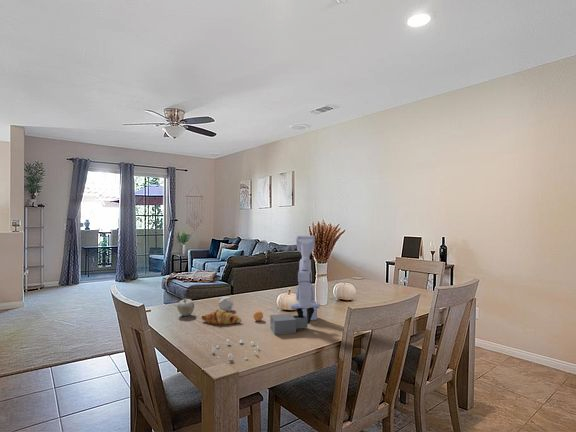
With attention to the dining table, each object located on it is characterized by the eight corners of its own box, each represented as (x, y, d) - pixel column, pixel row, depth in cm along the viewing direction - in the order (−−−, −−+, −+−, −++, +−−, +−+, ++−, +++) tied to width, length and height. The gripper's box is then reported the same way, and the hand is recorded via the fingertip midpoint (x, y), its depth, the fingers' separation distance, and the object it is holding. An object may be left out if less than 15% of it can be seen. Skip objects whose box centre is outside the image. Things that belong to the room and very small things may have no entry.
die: (226, 314, 193) (236, 299, 196) (213, 306, 195) (223, 291, 198) (228, 316, 201) (237, 301, 204) (216, 308, 202) (225, 293, 205)
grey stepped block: (302, 325, 173) (302, 312, 173) (308, 332, 163) (308, 318, 163) (270, 327, 169) (270, 314, 169) (274, 334, 159) (274, 321, 159)
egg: (262, 318, 184) (262, 309, 184) (263, 321, 179) (263, 312, 179) (252, 319, 182) (252, 310, 182) (254, 322, 178) (254, 312, 178)
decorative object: (192, 312, 195) (192, 295, 195) (195, 316, 187) (195, 298, 187) (176, 314, 191) (176, 296, 191) (178, 319, 183) (178, 300, 183)
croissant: (242, 328, 179) (244, 312, 183) (238, 324, 170) (240, 308, 174) (203, 326, 182) (206, 310, 185) (196, 322, 173) (199, 306, 176)
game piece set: (245, 366, 127) (245, 355, 127) (200, 357, 135) (200, 347, 135) (269, 347, 145) (269, 338, 145) (228, 340, 153) (228, 332, 153)
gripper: (292, 298, 162) (292, 327, 162) (321, 296, 166) (321, 325, 166) (288, 294, 169) (288, 322, 169) (317, 293, 173) (317, 320, 173)
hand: (304, 323), depth 168 cm, fingers open, 3 cm apart
